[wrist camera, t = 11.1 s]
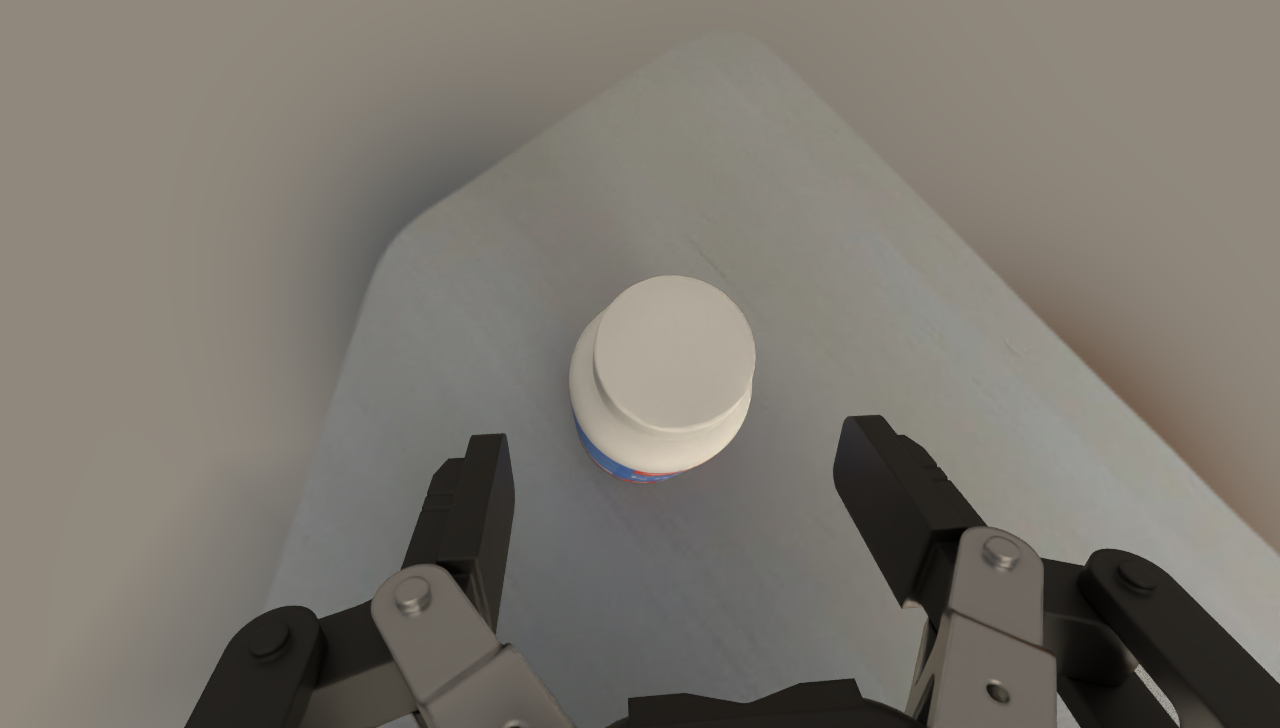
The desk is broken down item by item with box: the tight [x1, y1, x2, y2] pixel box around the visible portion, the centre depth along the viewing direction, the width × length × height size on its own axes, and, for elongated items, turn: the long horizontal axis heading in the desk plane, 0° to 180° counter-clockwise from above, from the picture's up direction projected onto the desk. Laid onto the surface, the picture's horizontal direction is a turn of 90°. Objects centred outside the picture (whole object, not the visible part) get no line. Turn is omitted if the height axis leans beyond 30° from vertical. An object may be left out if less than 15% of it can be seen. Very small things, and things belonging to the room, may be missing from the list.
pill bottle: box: [569, 275, 755, 483], centre depth 18 cm, size 6×5×10 cm
